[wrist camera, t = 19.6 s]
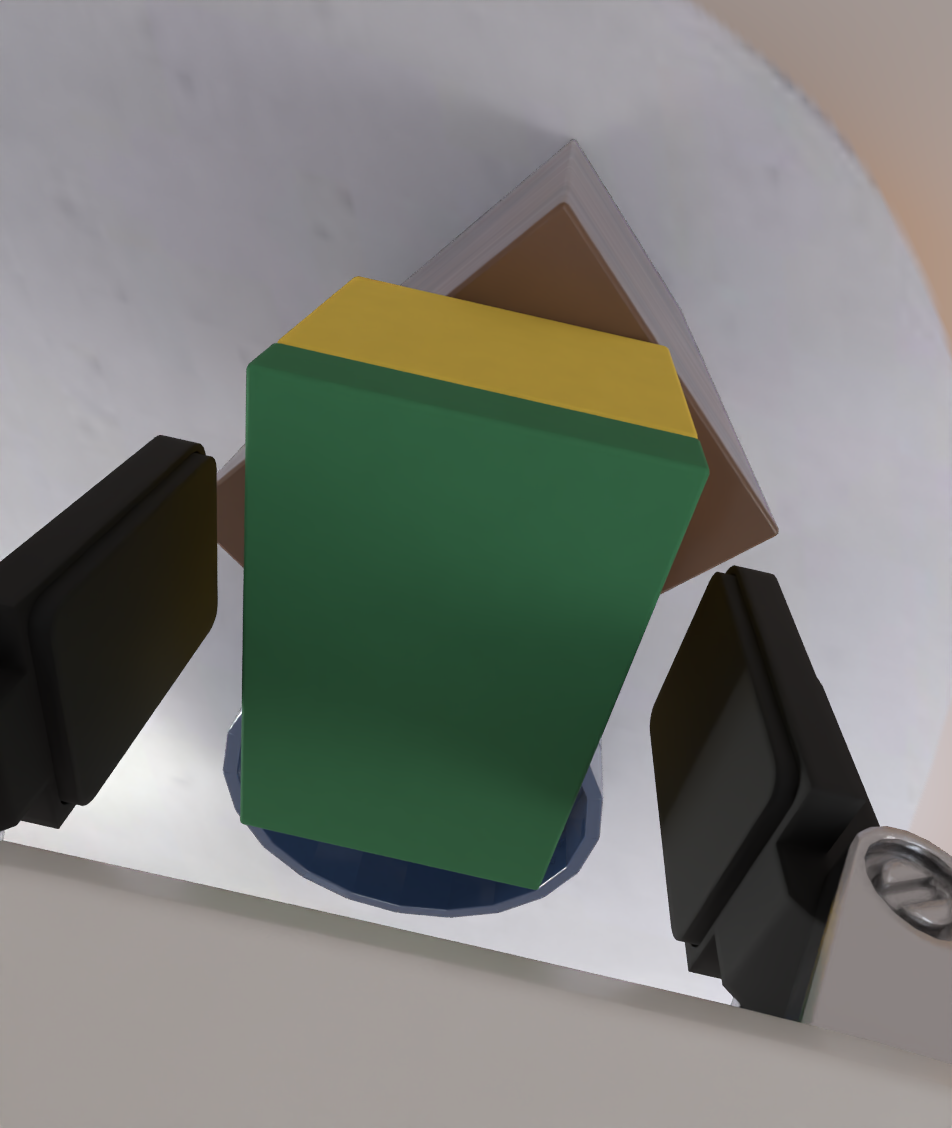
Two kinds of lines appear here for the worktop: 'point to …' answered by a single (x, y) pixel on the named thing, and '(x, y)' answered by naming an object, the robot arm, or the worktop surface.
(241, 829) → the worktop surface
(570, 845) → the bowl
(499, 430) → the sponge
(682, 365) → the sponge stand
